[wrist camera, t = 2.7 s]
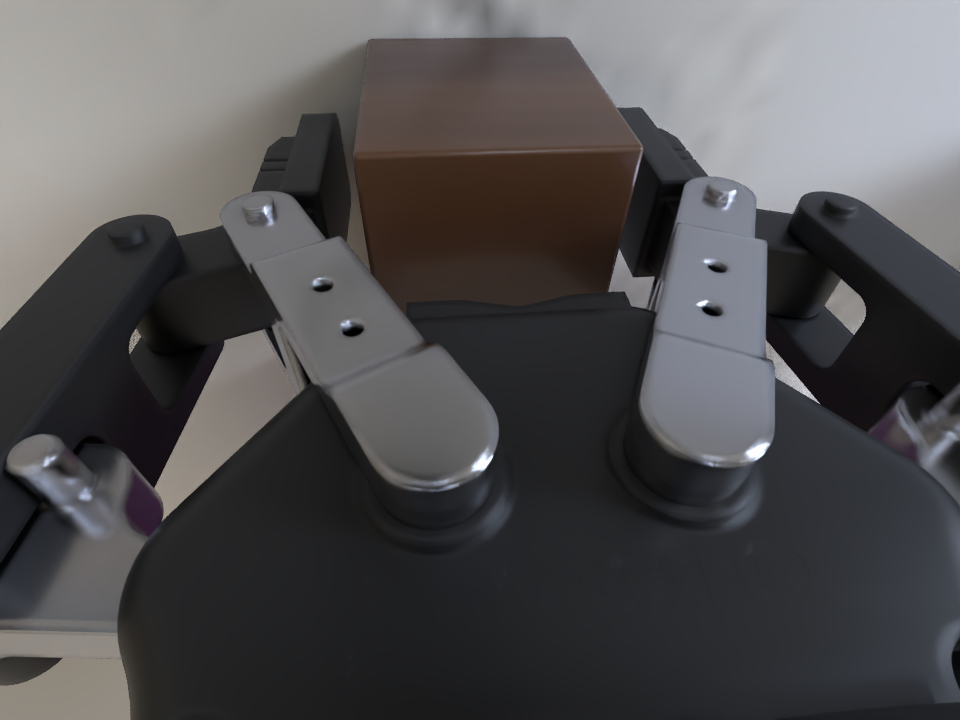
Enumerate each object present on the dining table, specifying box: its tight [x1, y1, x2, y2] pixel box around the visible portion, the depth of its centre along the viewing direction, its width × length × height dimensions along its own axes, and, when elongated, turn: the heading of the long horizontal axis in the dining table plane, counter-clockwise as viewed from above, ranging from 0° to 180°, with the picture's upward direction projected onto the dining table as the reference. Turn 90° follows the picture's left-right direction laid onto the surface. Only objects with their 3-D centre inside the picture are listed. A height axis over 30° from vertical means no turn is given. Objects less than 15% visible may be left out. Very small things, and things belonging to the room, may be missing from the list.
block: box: [352, 37, 643, 316], centre depth 11 cm, size 4×4×5 cm
